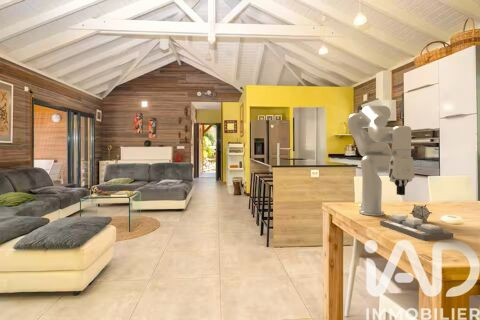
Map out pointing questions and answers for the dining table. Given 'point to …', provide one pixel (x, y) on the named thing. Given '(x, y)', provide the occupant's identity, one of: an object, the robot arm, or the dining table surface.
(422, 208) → the game die
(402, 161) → the robot arm
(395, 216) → the button
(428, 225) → the button
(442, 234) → the button board
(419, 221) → the middle button
